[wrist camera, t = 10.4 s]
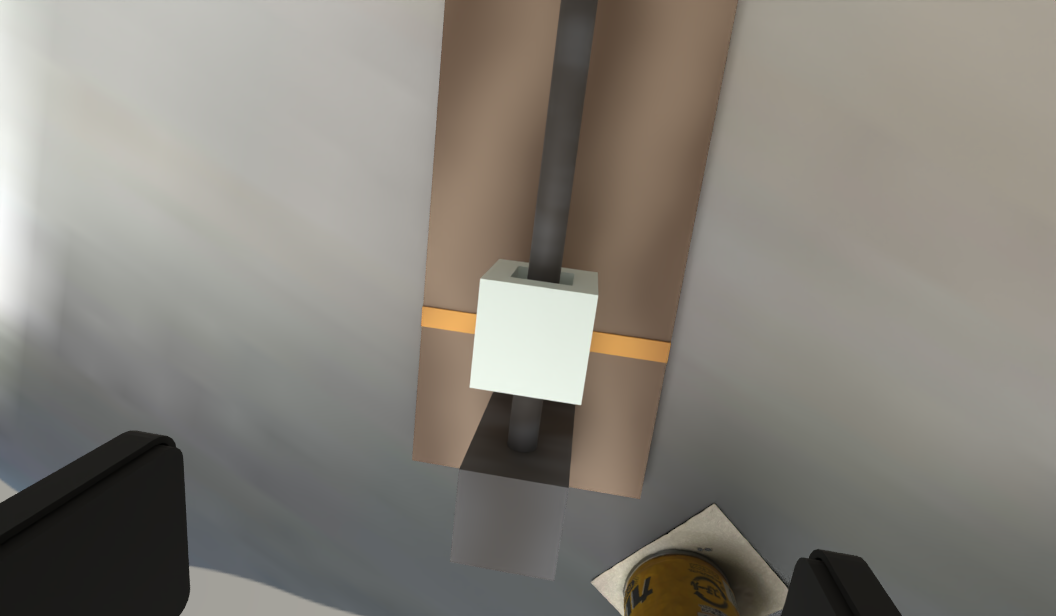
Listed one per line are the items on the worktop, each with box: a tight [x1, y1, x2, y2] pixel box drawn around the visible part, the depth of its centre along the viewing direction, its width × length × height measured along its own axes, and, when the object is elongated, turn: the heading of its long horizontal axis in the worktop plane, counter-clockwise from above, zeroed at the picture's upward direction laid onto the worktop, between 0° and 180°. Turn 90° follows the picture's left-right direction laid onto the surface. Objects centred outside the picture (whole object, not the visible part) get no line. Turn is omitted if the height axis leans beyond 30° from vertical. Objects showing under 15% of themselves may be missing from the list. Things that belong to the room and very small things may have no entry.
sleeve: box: [470, 259, 598, 405], centre depth 21 cm, size 4×4×4 cm
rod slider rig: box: [412, 0, 738, 581], centre depth 22 cm, size 12×28×10 cm, turn 173°
